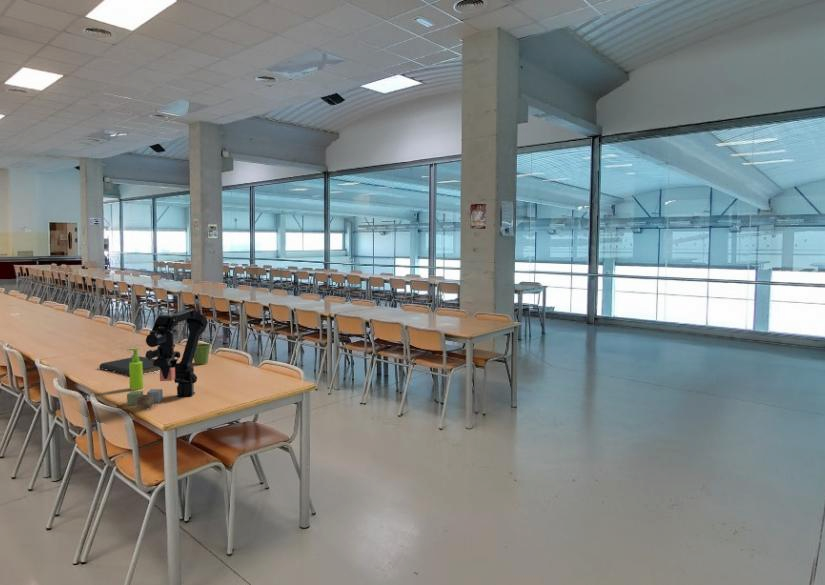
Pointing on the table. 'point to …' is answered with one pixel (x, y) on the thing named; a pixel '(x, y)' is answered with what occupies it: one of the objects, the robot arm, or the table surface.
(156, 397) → the slate cube
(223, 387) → the table surface
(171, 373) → the red cube
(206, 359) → the plant pot
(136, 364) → the soap dispenser
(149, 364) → the closed laptop
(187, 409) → the table surface
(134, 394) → the olive cube
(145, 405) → the walnut cube
